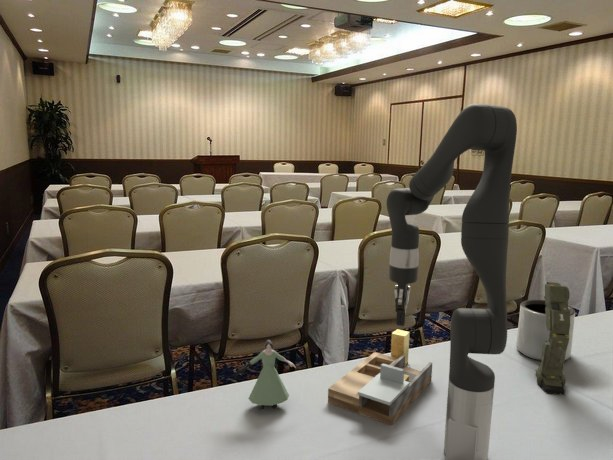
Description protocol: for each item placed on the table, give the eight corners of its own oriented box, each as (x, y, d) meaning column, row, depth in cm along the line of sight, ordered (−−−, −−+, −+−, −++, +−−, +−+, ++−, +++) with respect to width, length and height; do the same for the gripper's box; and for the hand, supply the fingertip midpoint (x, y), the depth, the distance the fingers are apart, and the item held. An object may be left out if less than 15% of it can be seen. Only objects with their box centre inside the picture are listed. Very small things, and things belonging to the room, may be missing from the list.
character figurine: (234, 418, 122) (233, 349, 118) (233, 401, 130) (232, 336, 126) (298, 412, 125) (299, 345, 121) (293, 396, 133) (293, 332, 129)
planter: (580, 364, 153) (586, 316, 150) (527, 363, 153) (532, 315, 150) (556, 343, 169) (560, 299, 166) (508, 342, 169) (512, 298, 166)
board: (391, 425, 120) (392, 404, 119) (327, 402, 130) (328, 383, 129) (431, 380, 142) (432, 362, 141) (374, 364, 152) (374, 347, 151)
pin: (402, 367, 150) (404, 336, 148) (390, 364, 152) (391, 333, 150) (407, 362, 153) (409, 332, 151) (395, 359, 155) (397, 329, 153)
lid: (389, 405, 118) (390, 388, 117) (357, 394, 123) (358, 378, 122) (409, 385, 128) (410, 369, 127) (379, 375, 132) (379, 360, 132)
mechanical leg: (574, 399, 131) (577, 285, 132) (544, 396, 132) (548, 283, 134) (558, 386, 144) (561, 282, 146) (531, 383, 146) (535, 281, 147)
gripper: (416, 271, 125) (412, 335, 128) (419, 258, 137) (416, 317, 141) (386, 268, 127) (383, 332, 130) (392, 255, 139) (389, 314, 143)
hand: (400, 324), depth 135 cm, fingers closed
